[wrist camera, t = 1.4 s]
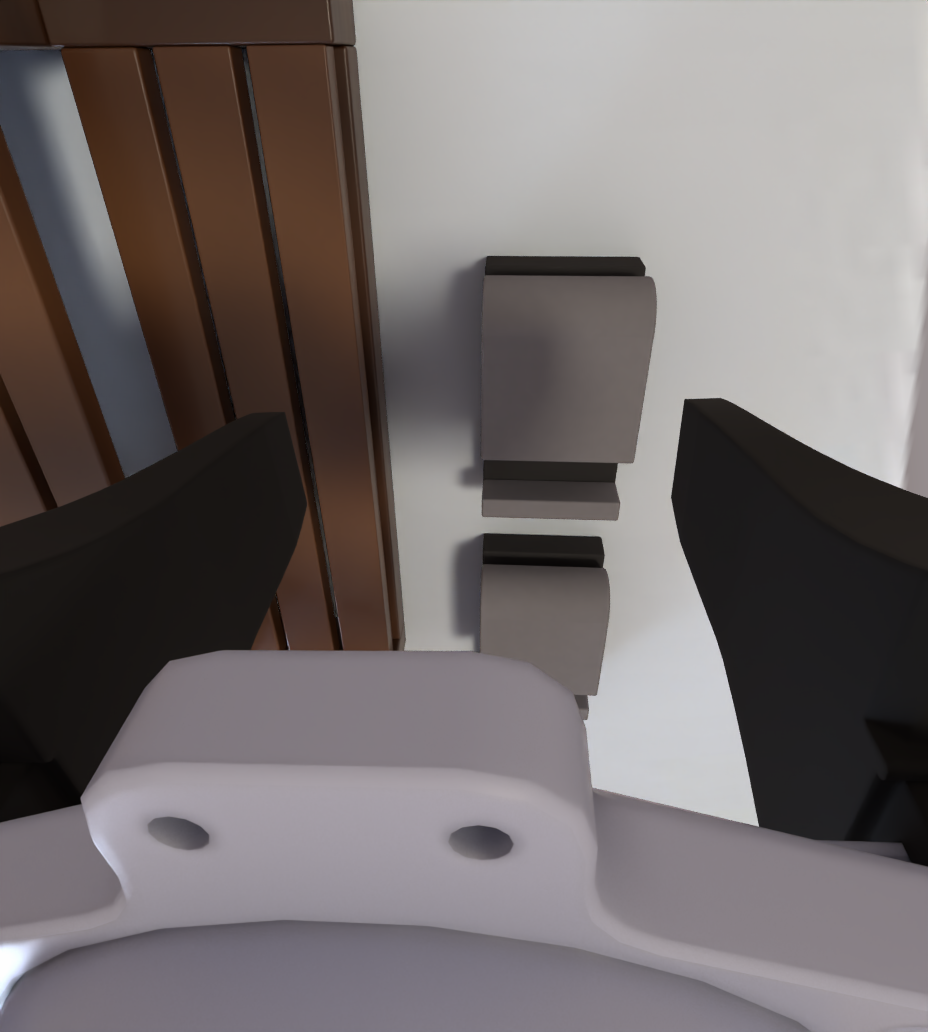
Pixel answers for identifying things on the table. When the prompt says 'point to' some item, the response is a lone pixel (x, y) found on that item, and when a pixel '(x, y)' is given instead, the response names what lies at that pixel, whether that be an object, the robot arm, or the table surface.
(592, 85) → the table surface
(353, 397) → the shoe rack
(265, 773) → the robot arm
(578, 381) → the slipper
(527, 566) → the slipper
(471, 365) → the table surface
